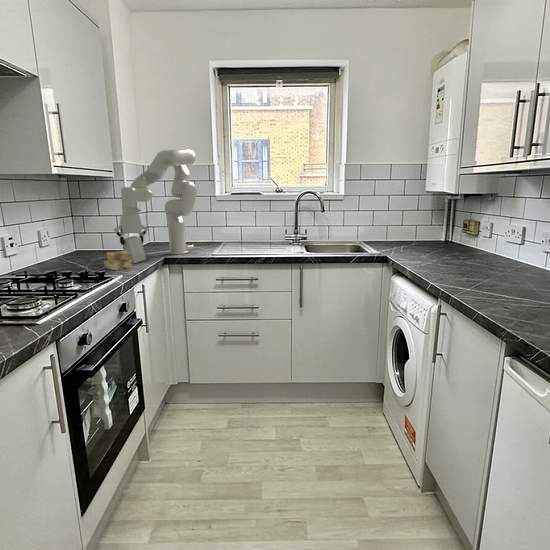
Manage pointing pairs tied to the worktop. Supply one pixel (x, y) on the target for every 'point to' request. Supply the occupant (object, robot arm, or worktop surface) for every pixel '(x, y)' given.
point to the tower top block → (117, 257)
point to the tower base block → (118, 265)
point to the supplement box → (134, 249)
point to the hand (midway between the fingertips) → (132, 244)
